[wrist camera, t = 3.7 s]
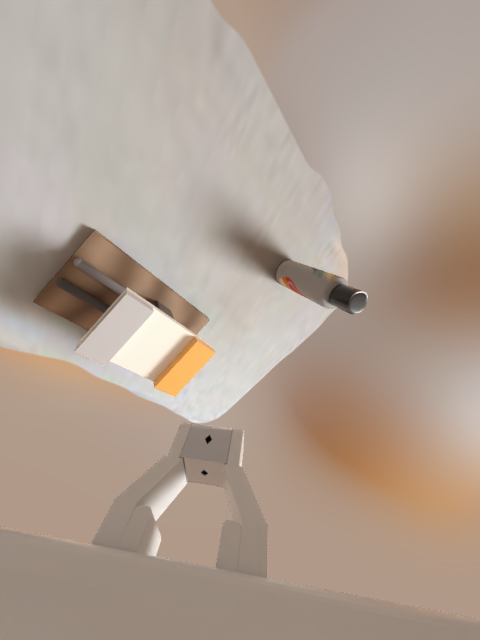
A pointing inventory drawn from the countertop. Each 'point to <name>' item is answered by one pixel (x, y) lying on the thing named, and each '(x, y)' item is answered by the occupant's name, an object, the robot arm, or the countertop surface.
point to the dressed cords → (84, 295)
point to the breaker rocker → (146, 343)
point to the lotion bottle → (321, 287)
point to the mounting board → (121, 271)
